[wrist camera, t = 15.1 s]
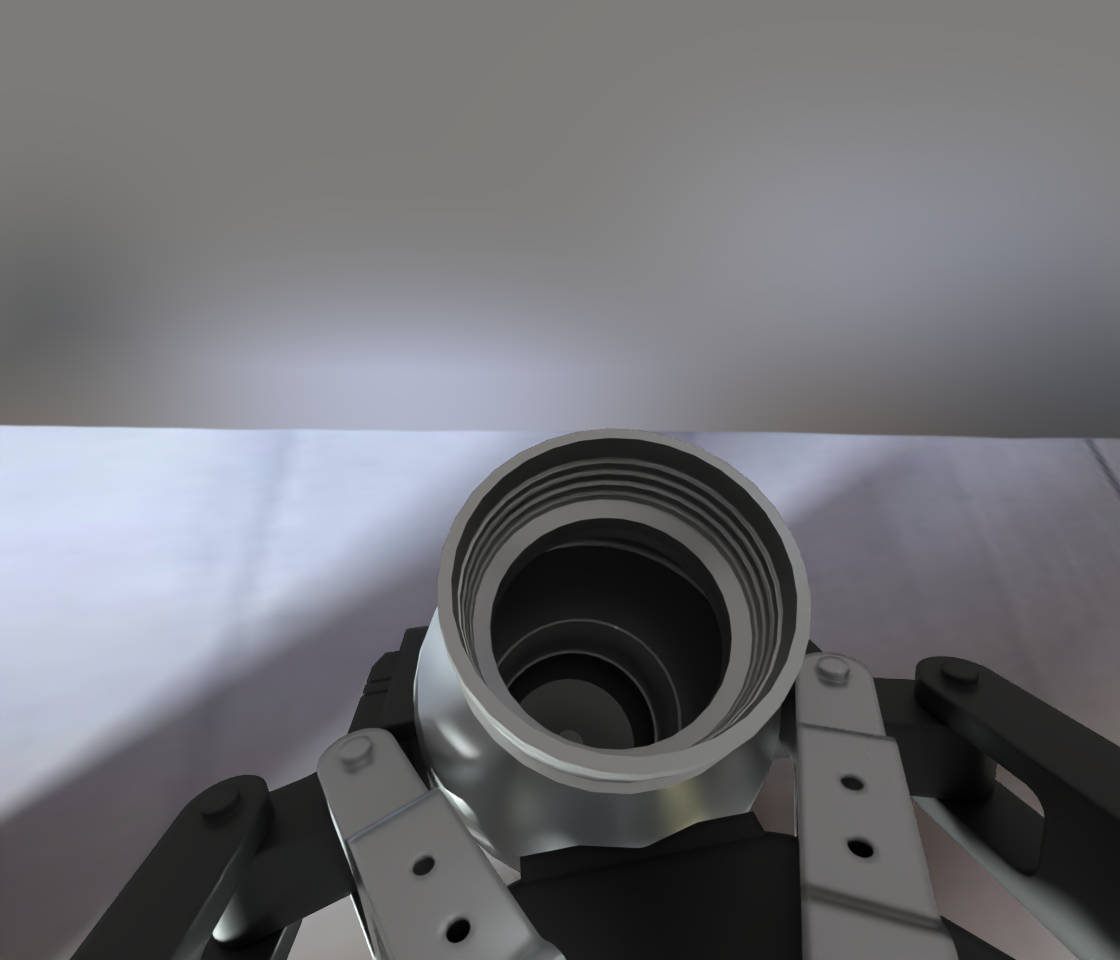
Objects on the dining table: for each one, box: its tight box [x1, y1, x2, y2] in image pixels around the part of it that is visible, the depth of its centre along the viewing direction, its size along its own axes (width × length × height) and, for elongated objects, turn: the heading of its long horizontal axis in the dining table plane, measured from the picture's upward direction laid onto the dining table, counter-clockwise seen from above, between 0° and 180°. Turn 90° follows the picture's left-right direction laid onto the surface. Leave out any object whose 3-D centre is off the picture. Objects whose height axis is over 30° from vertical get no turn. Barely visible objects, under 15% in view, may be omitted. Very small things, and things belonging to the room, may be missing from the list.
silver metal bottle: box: [414, 429, 811, 872], centre depth 14 cm, size 6×7×20 cm
